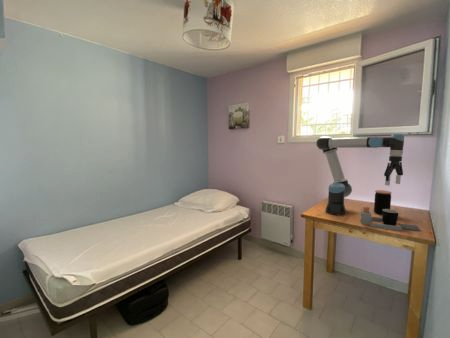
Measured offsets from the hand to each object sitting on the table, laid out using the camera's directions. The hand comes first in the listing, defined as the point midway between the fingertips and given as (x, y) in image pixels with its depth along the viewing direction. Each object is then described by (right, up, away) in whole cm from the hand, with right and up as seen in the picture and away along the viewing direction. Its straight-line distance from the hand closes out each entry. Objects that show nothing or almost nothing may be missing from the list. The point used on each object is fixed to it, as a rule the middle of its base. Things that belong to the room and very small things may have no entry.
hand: (392, 184), depth 166 cm
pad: (0, -28, -16) cm, 32 cm away
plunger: (-23, -21, -6) cm, 32 cm away
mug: (-11, -28, -11) cm, 32 cm away
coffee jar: (+2, -25, +15) cm, 29 cm away
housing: (-16, -27, -9) cm, 33 cm away
